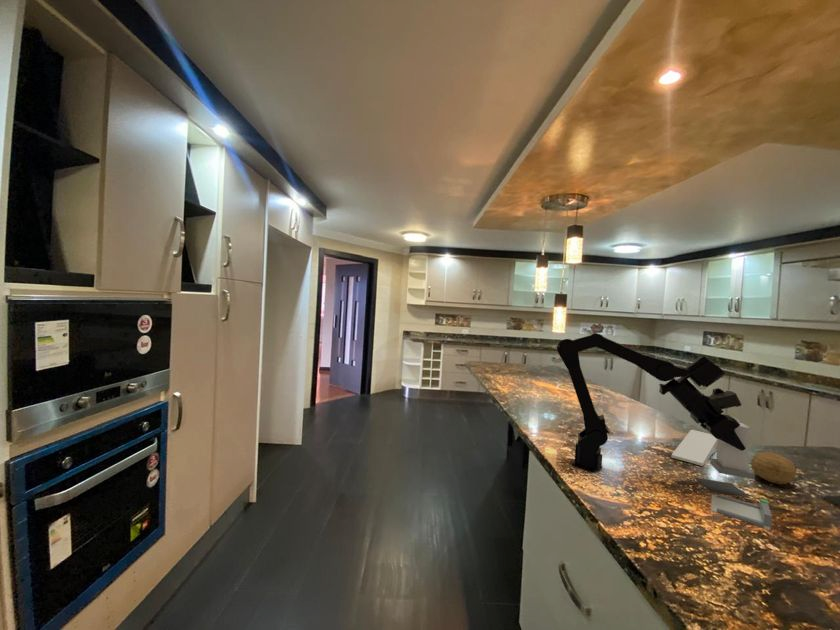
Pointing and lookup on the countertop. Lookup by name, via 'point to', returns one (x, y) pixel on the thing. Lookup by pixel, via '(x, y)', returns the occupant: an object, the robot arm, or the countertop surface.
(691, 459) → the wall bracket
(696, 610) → the countertop surface
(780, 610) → the countertop surface
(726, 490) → the pad
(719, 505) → the port
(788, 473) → the potato
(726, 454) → the plug
